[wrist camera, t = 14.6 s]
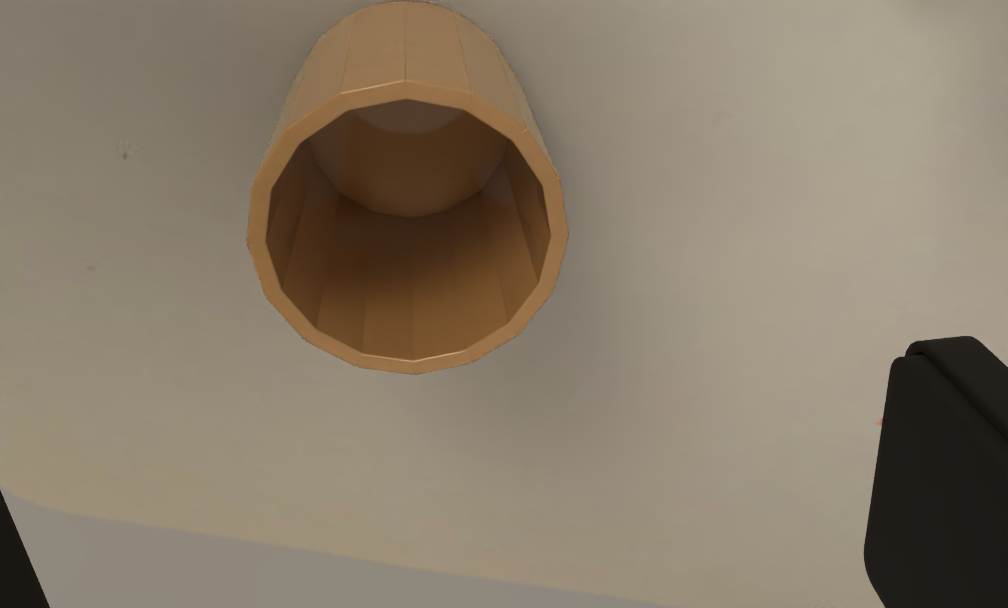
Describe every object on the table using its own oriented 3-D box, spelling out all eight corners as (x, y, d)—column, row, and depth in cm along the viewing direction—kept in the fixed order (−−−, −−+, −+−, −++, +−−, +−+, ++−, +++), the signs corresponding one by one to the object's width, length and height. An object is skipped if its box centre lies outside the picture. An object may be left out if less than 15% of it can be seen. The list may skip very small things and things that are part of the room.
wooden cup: (252, 148, 28) (191, 284, 20) (369, -50, 25) (353, 14, 18) (441, 258, 30) (454, 417, 22) (564, 85, 28) (628, 194, 20)
